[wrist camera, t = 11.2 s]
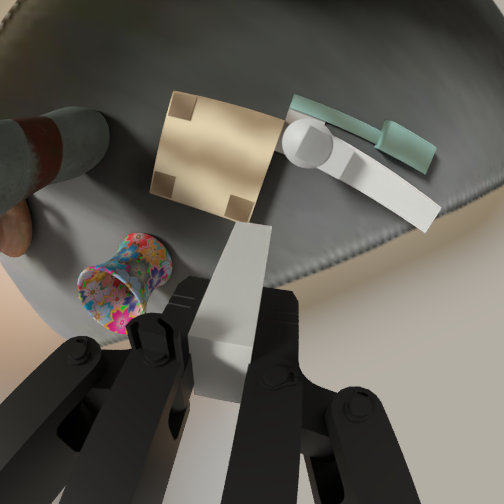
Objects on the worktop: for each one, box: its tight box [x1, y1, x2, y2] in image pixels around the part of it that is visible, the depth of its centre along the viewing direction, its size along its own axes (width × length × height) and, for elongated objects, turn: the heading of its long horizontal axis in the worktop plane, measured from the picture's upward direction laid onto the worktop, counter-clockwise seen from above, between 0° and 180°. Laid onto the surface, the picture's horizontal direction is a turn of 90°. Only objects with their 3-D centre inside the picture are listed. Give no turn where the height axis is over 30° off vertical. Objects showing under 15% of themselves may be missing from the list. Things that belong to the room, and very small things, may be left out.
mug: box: [77, 233, 172, 334], centre depth 33 cm, size 12×9×11 cm
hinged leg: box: [282, 119, 441, 233], centre depth 24 cm, size 17×4×8 cm, turn 66°
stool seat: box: [150, 91, 436, 223], centre depth 26 cm, size 16×28×7 cm, turn 72°
